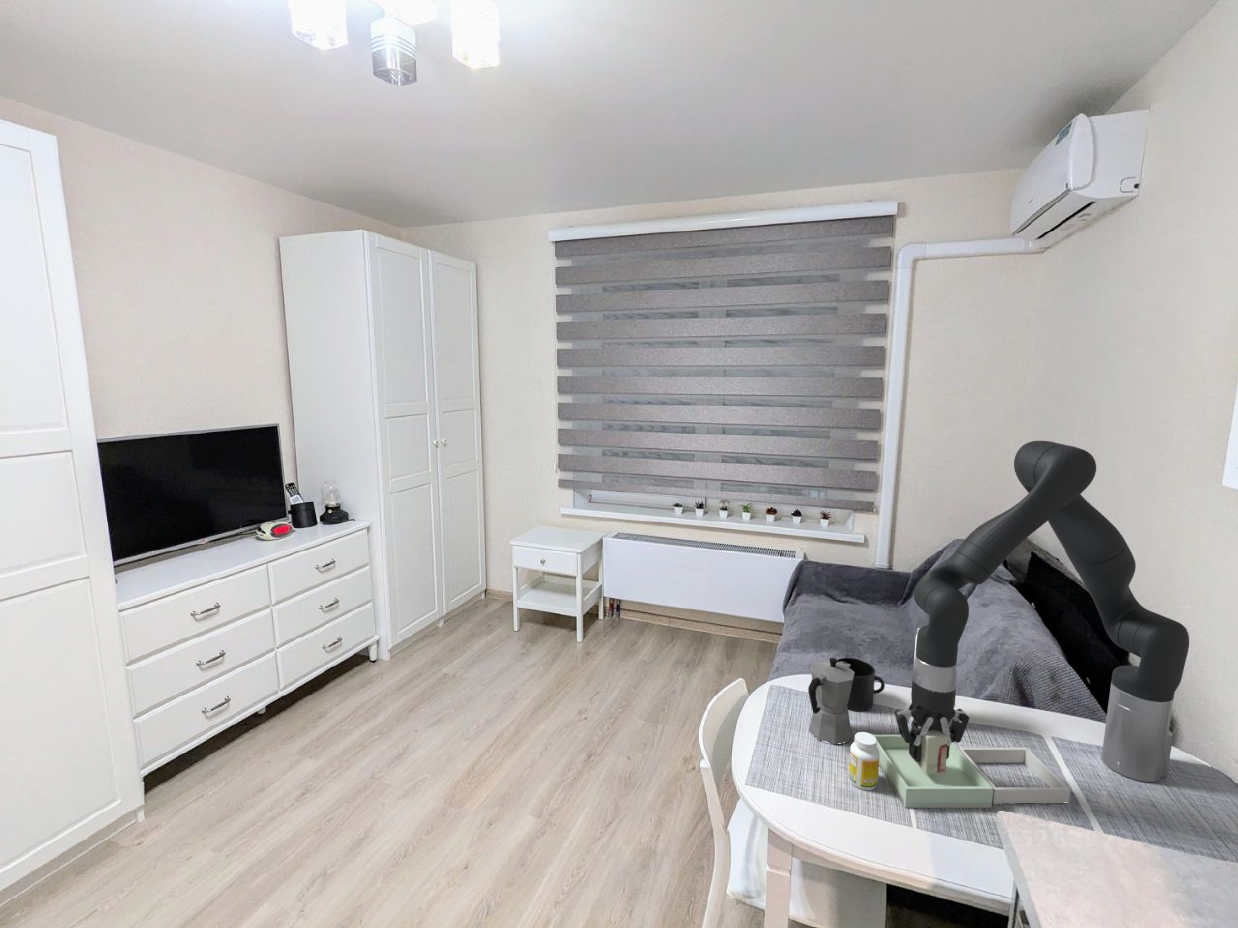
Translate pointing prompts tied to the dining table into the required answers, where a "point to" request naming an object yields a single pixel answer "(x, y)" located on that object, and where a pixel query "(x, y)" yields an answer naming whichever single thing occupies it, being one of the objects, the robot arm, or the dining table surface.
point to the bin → (932, 778)
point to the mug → (862, 684)
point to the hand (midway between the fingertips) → (928, 758)
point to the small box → (933, 752)
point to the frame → (1013, 795)
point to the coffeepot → (830, 700)
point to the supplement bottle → (864, 761)
